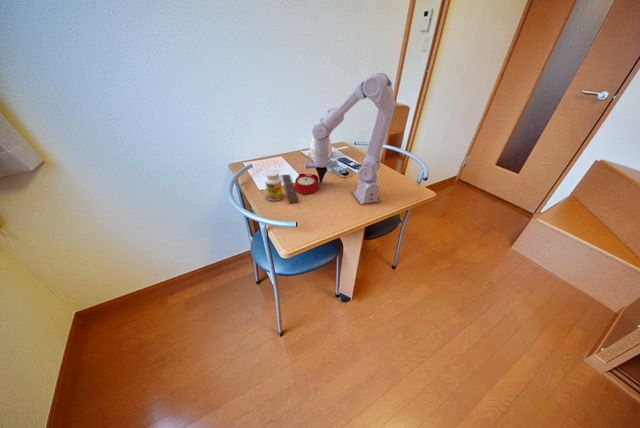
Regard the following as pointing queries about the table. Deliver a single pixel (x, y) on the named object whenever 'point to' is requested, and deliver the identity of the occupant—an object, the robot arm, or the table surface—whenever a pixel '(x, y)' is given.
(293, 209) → the table surface
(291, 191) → the ruler
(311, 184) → the alarm clock
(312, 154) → the honey pot
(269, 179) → the pill bottle
